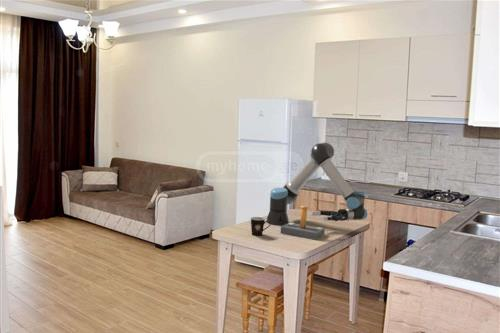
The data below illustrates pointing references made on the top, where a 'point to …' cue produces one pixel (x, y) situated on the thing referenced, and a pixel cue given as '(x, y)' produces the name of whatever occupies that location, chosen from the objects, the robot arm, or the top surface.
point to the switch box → (303, 231)
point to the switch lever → (303, 216)
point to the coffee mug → (257, 225)
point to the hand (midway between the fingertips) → (316, 216)
